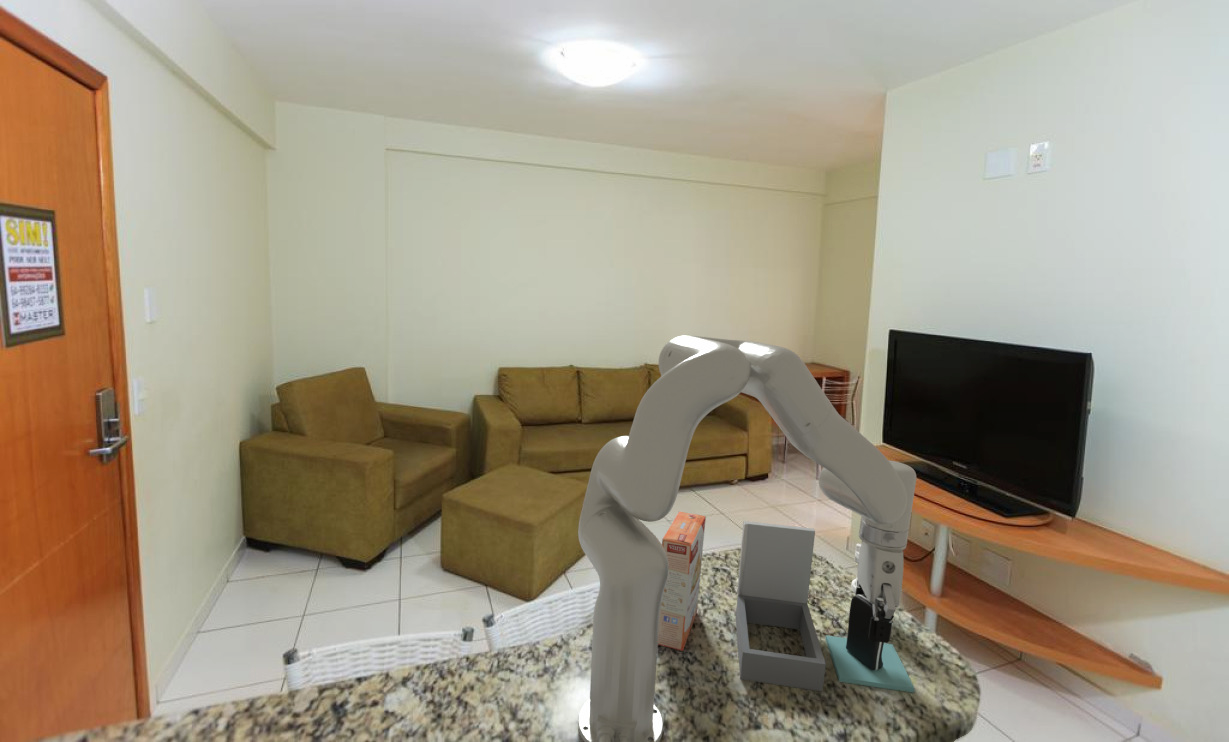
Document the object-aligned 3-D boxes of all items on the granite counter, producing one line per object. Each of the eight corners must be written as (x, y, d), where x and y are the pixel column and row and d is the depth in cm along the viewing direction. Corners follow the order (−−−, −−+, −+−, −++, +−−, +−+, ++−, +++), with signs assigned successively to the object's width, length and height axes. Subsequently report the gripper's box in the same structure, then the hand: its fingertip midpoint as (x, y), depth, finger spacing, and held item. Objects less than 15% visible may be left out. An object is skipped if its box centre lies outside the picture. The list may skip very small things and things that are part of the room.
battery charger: (889, 669, 101) (898, 609, 99) (873, 673, 99) (881, 612, 97) (859, 645, 107) (867, 588, 105) (843, 648, 106) (850, 591, 104)
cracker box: (685, 653, 104) (693, 544, 100) (653, 645, 105) (659, 537, 102) (699, 612, 117) (707, 514, 113) (670, 605, 119) (677, 509, 115)
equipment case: (822, 691, 95) (835, 579, 92) (740, 679, 97) (750, 569, 94) (803, 623, 114) (814, 528, 111) (735, 614, 117) (743, 520, 113)
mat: (914, 692, 96) (914, 688, 96) (839, 681, 98) (839, 677, 98) (892, 648, 108) (892, 644, 108) (825, 639, 110) (825, 635, 110)
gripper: (924, 559, 90) (909, 658, 92) (890, 516, 107) (878, 601, 109) (874, 552, 91) (860, 651, 94) (848, 511, 108) (837, 595, 111)
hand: (870, 624), depth 101 cm, fingers open, 9 cm apart
